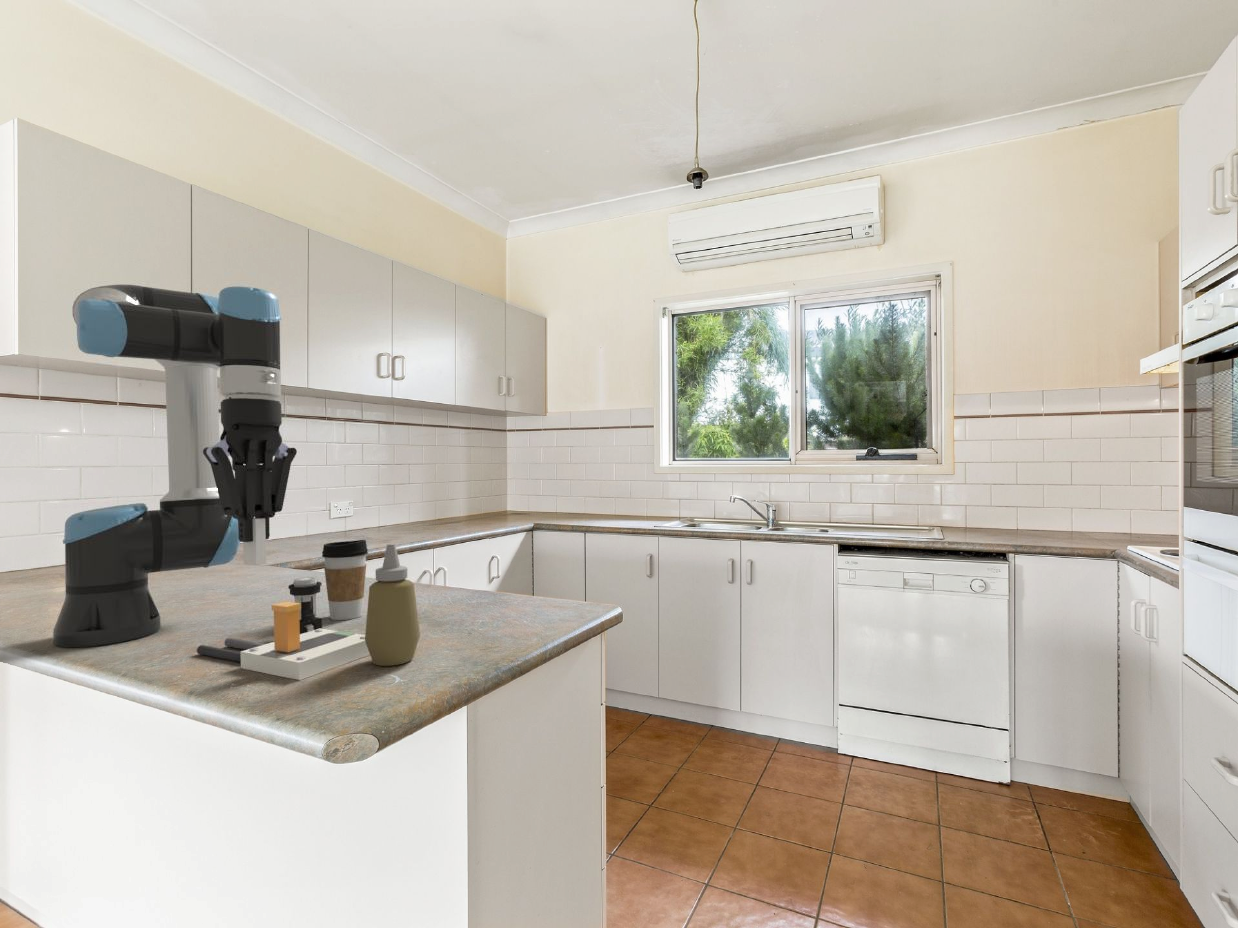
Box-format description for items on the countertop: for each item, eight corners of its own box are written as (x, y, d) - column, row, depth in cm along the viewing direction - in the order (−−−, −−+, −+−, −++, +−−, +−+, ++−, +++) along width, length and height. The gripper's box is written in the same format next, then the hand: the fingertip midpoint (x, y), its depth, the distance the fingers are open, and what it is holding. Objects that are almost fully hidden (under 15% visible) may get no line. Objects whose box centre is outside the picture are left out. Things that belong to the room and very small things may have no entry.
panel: (240, 668, 96) (240, 650, 96) (320, 642, 108) (320, 627, 108) (299, 680, 90) (299, 661, 90) (376, 652, 103) (376, 635, 103)
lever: (272, 650, 95) (271, 604, 95) (286, 645, 97) (286, 601, 97) (287, 652, 94) (286, 606, 94) (302, 648, 96) (301, 603, 96)
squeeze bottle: (388, 673, 93) (386, 549, 92) (353, 664, 97) (351, 546, 97) (431, 657, 100) (429, 543, 99) (397, 650, 104) (395, 540, 104)
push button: (293, 642, 109) (292, 584, 109) (275, 638, 112) (274, 581, 112) (328, 632, 115) (327, 577, 115) (310, 629, 118) (309, 575, 117)
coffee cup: (358, 621, 122) (357, 543, 122) (314, 622, 123) (313, 544, 122) (375, 611, 131) (374, 538, 131) (335, 611, 131) (333, 538, 131)
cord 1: (196, 654, 103) (196, 646, 103) (205, 652, 104) (205, 643, 104) (247, 665, 97) (247, 656, 97) (256, 662, 98) (256, 653, 98)
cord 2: (224, 647, 107) (224, 638, 107) (232, 644, 108) (232, 636, 108) (274, 656, 101) (274, 647, 101) (282, 654, 102) (282, 645, 102)
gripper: (224, 393, 83) (228, 573, 84) (309, 401, 95) (312, 558, 95) (187, 396, 86) (191, 570, 87) (274, 403, 98) (277, 555, 98)
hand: (254, 563), depth 91 cm, fingers closed
